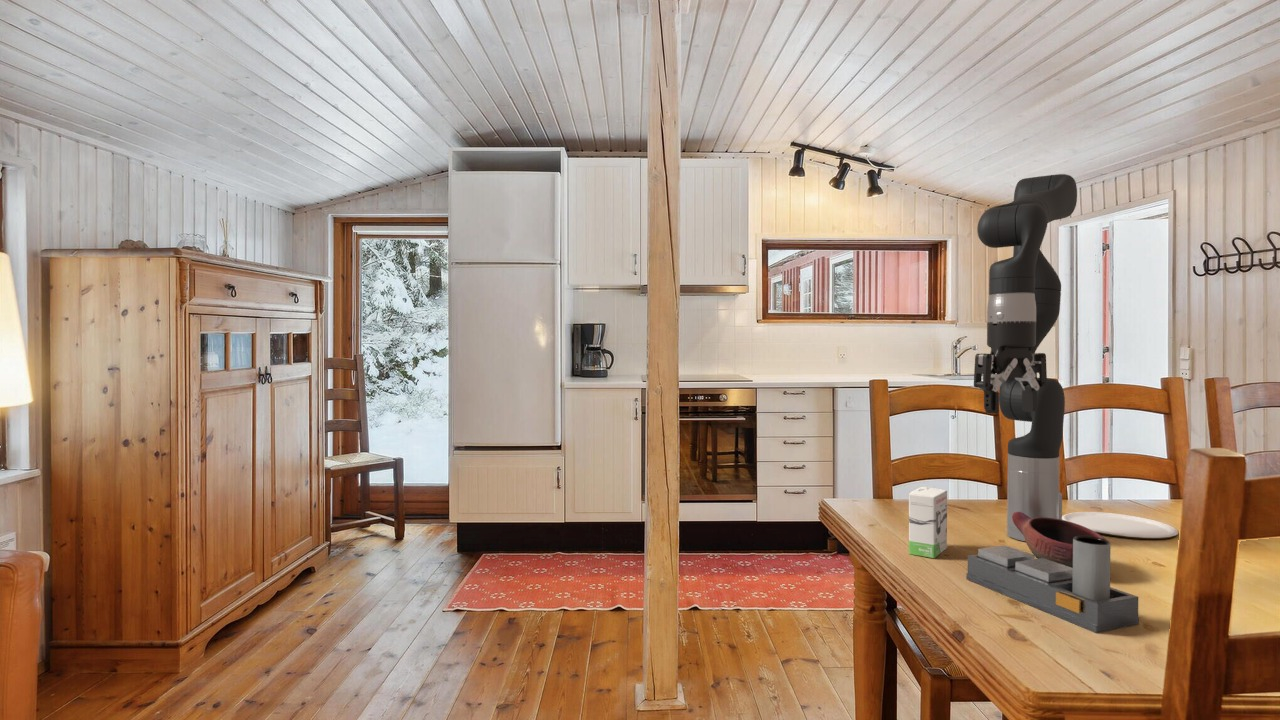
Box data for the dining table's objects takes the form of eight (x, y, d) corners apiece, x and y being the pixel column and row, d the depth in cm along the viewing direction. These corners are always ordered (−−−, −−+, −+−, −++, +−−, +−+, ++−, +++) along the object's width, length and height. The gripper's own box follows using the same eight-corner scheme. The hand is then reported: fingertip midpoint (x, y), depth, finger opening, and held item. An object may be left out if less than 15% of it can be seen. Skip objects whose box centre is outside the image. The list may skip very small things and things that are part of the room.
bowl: (1114, 567, 120) (1114, 523, 120) (1105, 587, 110) (1106, 538, 110) (1013, 549, 130) (1014, 509, 130) (997, 566, 120) (998, 522, 120)
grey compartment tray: (964, 579, 114) (965, 547, 114) (1004, 573, 117) (1005, 542, 116) (1094, 633, 92) (1094, 594, 92) (1139, 624, 95) (1139, 586, 95)
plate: (1193, 532, 144) (1193, 526, 144) (1156, 548, 132) (1156, 542, 132) (1085, 512, 161) (1085, 507, 161) (1044, 525, 149) (1044, 520, 149)
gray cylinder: (1065, 604, 100) (1065, 535, 100) (1093, 603, 100) (1094, 535, 100) (1087, 616, 95) (1088, 544, 95) (1117, 615, 96) (1118, 544, 95)
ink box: (934, 559, 124) (935, 496, 124) (907, 554, 128) (907, 492, 127) (947, 548, 131) (948, 489, 131) (921, 544, 134) (922, 485, 134)
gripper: (1023, 321, 123) (1022, 409, 123) (962, 320, 118) (961, 412, 118) (1060, 319, 116) (1060, 413, 116) (998, 318, 111) (997, 416, 111)
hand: (1010, 412), depth 117 cm, fingers open, 8 cm apart
